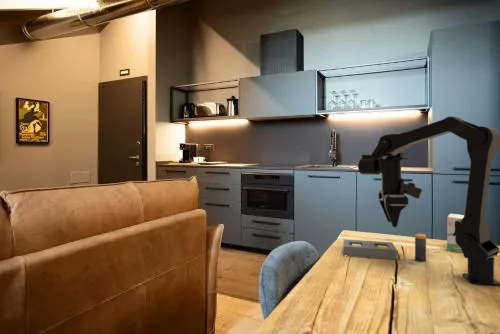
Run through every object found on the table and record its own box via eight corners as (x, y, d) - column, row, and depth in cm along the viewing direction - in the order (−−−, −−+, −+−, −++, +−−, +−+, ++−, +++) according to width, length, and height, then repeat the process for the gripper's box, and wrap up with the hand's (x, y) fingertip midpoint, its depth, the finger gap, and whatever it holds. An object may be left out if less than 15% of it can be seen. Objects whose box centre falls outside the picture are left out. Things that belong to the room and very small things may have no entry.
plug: (426, 262, 102) (427, 236, 101) (416, 261, 102) (416, 235, 102) (424, 259, 105) (424, 233, 104) (414, 258, 105) (414, 233, 105)
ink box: (463, 253, 111) (464, 218, 111) (446, 250, 114) (446, 216, 114) (465, 247, 118) (466, 214, 118) (449, 245, 121) (449, 213, 121)
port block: (396, 259, 104) (396, 248, 104) (343, 255, 109) (343, 245, 108) (391, 250, 114) (391, 240, 114) (343, 247, 118) (343, 238, 118)
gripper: (427, 175, 94) (428, 230, 94) (412, 173, 112) (413, 220, 112) (385, 176, 97) (386, 229, 97) (377, 174, 115) (377, 219, 115)
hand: (392, 224), depth 105 cm, fingers open, 9 cm apart
